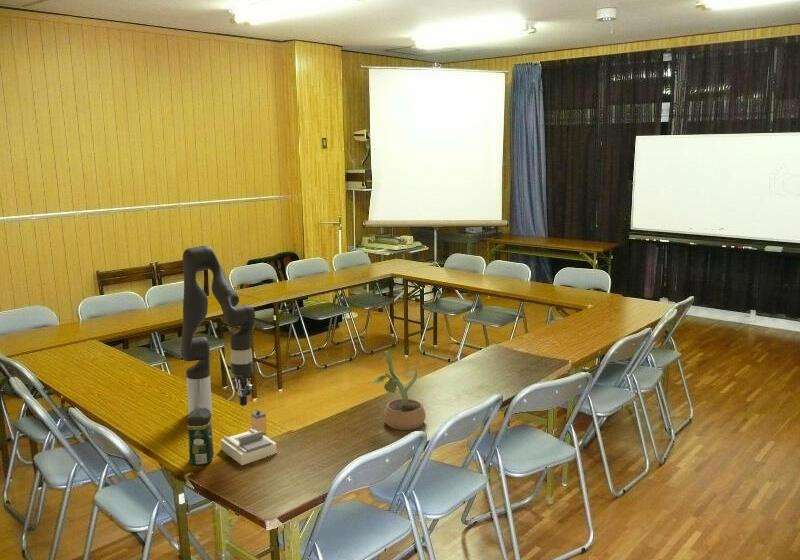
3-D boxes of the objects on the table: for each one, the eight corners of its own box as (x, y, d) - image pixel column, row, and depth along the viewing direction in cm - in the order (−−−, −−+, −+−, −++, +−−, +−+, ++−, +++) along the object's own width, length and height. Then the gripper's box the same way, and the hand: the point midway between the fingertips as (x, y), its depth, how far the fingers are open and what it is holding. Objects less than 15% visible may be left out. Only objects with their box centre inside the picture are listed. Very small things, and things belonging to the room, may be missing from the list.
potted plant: (426, 414, 285) (427, 345, 279) (424, 432, 267) (425, 359, 261) (372, 412, 286) (372, 344, 280) (367, 430, 269) (367, 357, 263)
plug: (252, 432, 266) (251, 410, 264) (261, 429, 269) (260, 408, 267) (257, 436, 263) (256, 413, 262) (266, 433, 266) (265, 411, 264)
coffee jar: (193, 454, 248) (190, 406, 244) (215, 453, 249) (212, 405, 245) (187, 466, 239) (183, 416, 235) (210, 465, 239) (207, 416, 235)
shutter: (239, 445, 245) (238, 437, 245) (261, 438, 251) (261, 430, 250) (247, 451, 241) (247, 443, 240) (270, 444, 246) (270, 436, 246)
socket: (221, 449, 252) (220, 437, 251) (255, 439, 261) (254, 427, 260) (241, 465, 240) (241, 452, 239) (276, 453, 249) (276, 441, 248)
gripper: (223, 357, 248) (225, 402, 251) (240, 367, 238) (242, 413, 242) (242, 353, 252) (243, 397, 256) (260, 362, 243) (261, 408, 246)
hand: (243, 404), depth 249 cm, fingers closed
